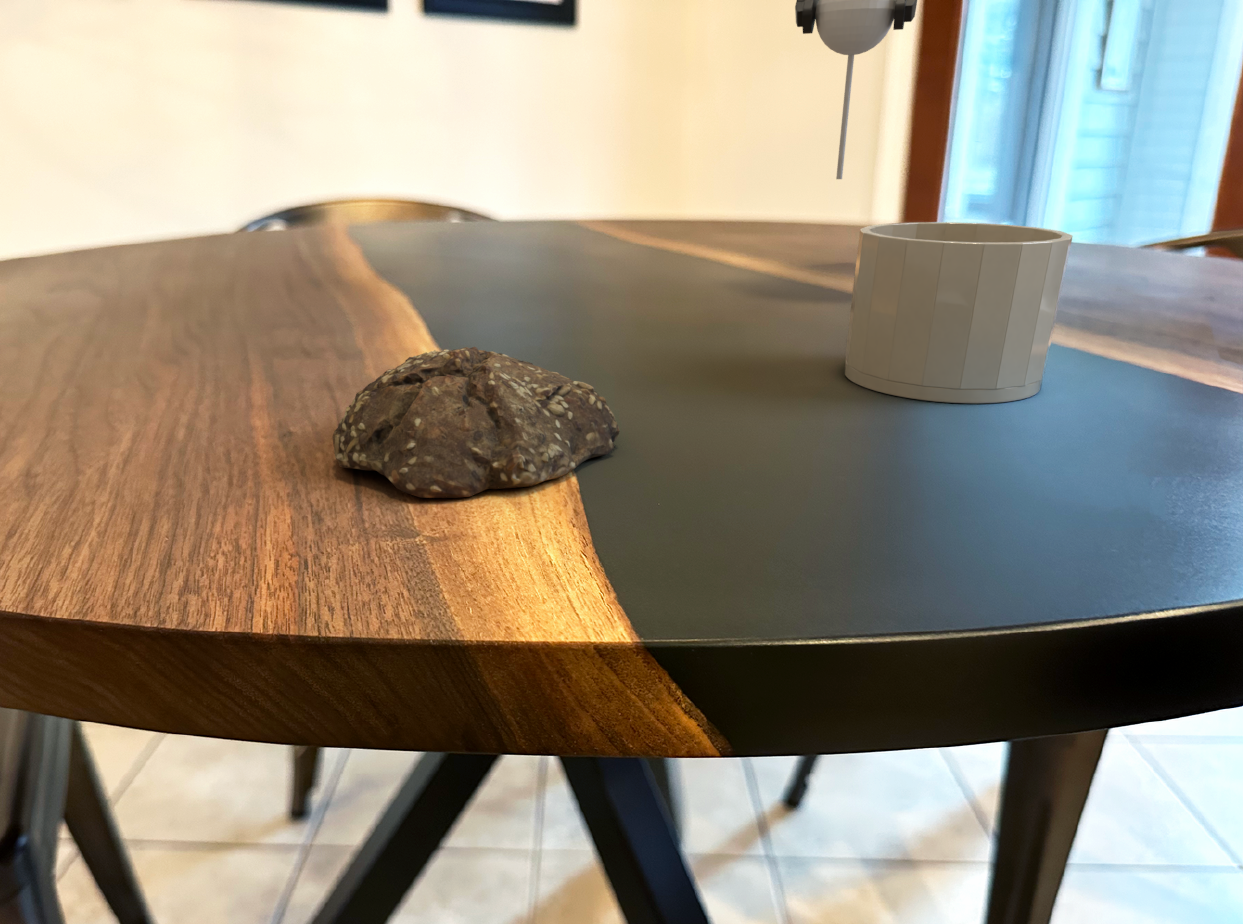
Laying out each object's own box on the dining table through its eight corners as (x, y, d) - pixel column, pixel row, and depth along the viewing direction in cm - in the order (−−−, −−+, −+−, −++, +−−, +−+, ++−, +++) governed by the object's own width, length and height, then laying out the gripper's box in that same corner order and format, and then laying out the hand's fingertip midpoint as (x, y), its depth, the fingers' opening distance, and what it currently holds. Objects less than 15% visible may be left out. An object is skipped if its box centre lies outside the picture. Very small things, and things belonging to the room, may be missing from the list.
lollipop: (786, 178, 79) (802, -28, 73) (843, 175, 81) (862, -25, 75) (834, 182, 73) (855, -40, 67) (894, 179, 75) (919, -37, 70)
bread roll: (443, 402, 53) (438, 312, 51) (644, 435, 47) (648, 335, 45) (275, 471, 42) (261, 362, 41) (506, 523, 37) (502, 399, 35)
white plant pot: (972, 353, 62) (995, 219, 59) (1084, 398, 52) (1119, 240, 49) (815, 360, 61) (829, 223, 58) (898, 408, 51) (921, 245, 48)
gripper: (790, -168, 76) (752, -16, 70) (984, -191, 71) (960, -30, 65) (794, -80, 82) (760, 65, 77) (972, -95, 77) (949, 59, 72)
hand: (852, 21), depth 71 cm, fingers closed on lollipop, 6 cm apart
